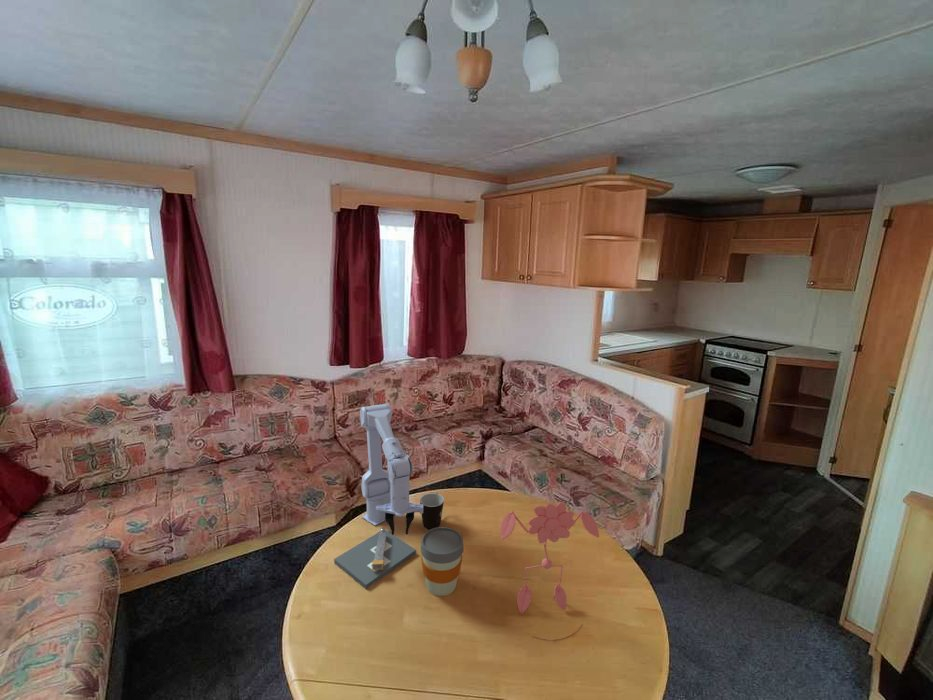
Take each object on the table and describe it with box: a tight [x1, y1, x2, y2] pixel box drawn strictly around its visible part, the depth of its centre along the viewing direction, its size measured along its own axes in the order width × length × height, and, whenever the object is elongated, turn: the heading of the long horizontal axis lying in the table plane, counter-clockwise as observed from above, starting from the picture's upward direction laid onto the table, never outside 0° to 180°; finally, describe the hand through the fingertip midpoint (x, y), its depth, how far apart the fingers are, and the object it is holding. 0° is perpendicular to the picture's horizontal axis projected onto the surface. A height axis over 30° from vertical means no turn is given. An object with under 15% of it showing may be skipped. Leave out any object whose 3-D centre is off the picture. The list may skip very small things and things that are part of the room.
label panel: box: [333, 527, 417, 590], centre depth 133 cm, size 20×16×4 cm
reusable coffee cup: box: [420, 526, 465, 597], centre depth 123 cm, size 13×13×15 cm
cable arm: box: [372, 533, 386, 570], centre depth 133 cm, size 15×3×2 cm, turn 6°
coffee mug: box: [419, 492, 445, 531], centre depth 152 cm, size 12×9×10 cm
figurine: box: [499, 501, 600, 643], centre depth 110 cm, size 15×26×35 cm, turn 93°
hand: (400, 532), depth 132 cm, fingers open, 4 cm apart
